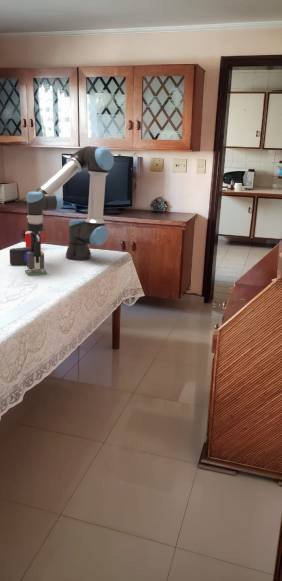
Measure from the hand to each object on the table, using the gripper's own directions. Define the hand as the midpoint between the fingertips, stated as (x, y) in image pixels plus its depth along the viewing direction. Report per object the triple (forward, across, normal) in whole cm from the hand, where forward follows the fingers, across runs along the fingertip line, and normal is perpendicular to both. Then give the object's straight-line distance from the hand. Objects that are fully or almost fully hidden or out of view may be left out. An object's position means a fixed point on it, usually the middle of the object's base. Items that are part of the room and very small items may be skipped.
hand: (35, 266), depth 235 cm
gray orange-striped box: (0, 0, 0) cm, 0 cm away
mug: (+3, -53, +12) cm, 55 cm away
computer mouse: (+4, -20, -2) cm, 21 cm away
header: (+3, 0, 0) cm, 3 cm away
